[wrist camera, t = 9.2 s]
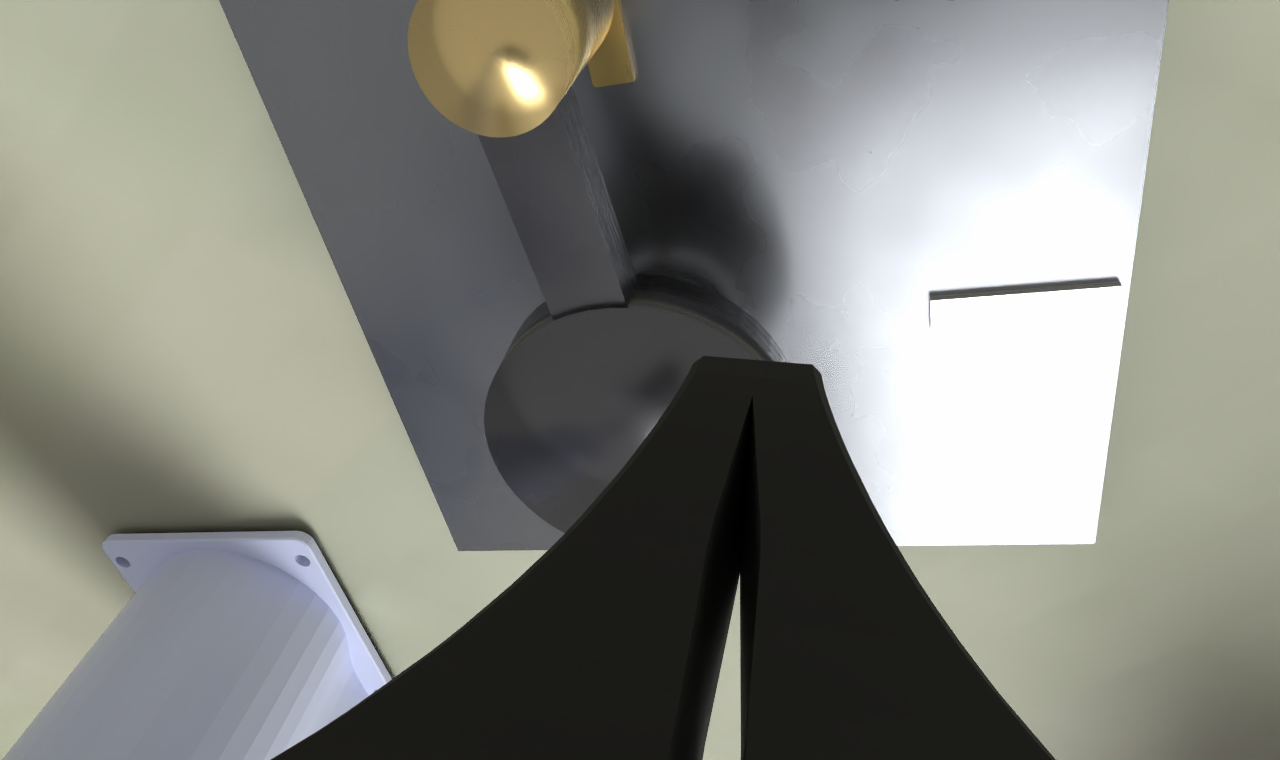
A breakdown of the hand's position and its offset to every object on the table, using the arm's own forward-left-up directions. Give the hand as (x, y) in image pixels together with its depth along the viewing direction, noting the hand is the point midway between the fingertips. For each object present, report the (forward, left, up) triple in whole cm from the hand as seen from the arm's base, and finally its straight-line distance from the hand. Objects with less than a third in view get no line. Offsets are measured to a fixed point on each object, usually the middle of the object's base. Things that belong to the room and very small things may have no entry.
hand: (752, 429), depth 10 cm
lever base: (-2, +2, -10) cm, 10 cm away
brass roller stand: (-1, +3, -8) cm, 9 cm away
